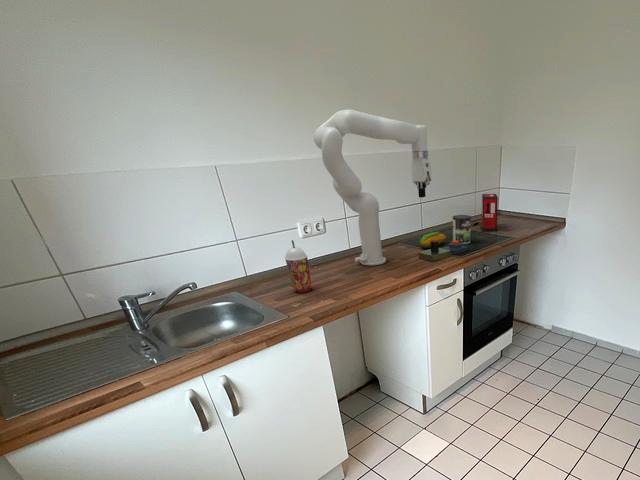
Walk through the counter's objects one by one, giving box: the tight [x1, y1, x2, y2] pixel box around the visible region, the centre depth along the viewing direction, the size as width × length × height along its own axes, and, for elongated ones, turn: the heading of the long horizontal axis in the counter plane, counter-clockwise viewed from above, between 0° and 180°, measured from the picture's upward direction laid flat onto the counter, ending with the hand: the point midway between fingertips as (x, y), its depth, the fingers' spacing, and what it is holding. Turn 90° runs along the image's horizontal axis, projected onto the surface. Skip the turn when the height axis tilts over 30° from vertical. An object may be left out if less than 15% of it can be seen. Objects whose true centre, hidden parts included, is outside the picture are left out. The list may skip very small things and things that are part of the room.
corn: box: [419, 231, 447, 249], centre depth 213 cm, size 7×8×20 cm
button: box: [451, 239, 459, 245], centre depth 202 cm, size 4×4×2 cm
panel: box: [418, 247, 452, 263], centre depth 194 cm, size 13×10×3 cm
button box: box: [442, 242, 469, 256], centre depth 203 cm, size 11×9×4 cm
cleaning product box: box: [481, 193, 499, 232], centre depth 246 cm, size 16×9×20 cm, turn 178°
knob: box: [430, 240, 440, 252], centre depth 192 cm, size 4×4×5 cm
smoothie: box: [284, 239, 312, 293], centre depth 152 cm, size 8×8×20 cm
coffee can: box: [452, 214, 472, 245], centre depth 218 cm, size 10×10×14 cm
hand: (422, 197), depth 191 cm, fingers closed
